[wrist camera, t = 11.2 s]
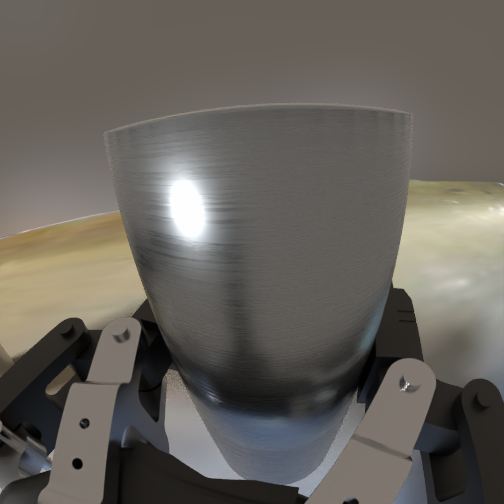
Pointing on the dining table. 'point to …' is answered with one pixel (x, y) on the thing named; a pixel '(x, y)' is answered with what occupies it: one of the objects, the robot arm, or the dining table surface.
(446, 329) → the dining table surface
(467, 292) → the dining table surface
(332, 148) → the cup
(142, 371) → the robot arm
